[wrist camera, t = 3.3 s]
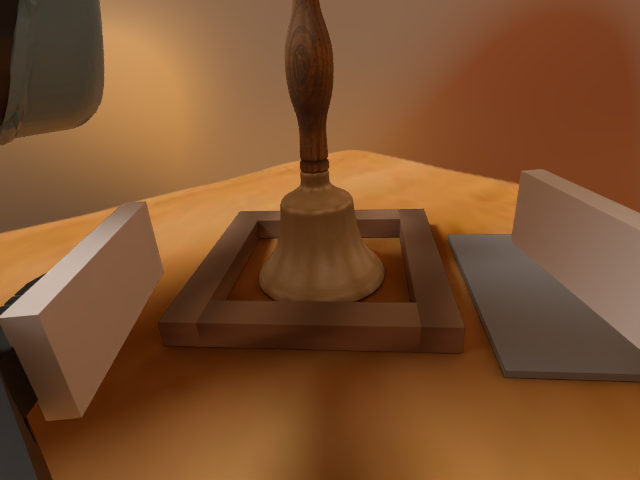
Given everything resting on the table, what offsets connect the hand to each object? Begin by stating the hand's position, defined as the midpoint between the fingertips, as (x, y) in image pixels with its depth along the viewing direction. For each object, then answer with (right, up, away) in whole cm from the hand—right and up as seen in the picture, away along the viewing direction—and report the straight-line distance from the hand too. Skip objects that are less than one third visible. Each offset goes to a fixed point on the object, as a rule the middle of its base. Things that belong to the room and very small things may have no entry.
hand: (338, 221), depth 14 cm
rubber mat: (+15, -4, +9) cm, 18 cm away
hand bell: (-1, -3, +13) cm, 13 cm away
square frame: (-1, -3, +13) cm, 13 cm away
